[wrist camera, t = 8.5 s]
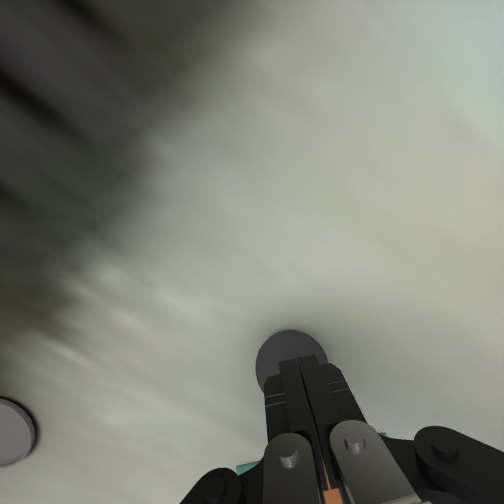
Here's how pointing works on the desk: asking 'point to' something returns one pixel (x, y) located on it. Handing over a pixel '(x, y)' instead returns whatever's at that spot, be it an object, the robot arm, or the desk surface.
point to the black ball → (285, 353)
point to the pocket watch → (14, 433)
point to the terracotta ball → (332, 493)
